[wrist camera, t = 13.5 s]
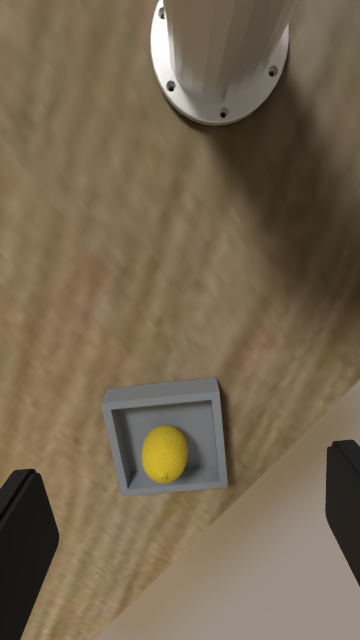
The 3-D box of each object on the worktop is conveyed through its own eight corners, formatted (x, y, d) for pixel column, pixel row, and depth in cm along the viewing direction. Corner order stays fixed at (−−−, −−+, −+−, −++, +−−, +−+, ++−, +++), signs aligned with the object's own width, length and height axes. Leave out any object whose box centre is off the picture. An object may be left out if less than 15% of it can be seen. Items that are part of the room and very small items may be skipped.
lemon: (196, 432, 39) (198, 480, 31) (165, 454, 40) (161, 506, 33) (168, 404, 38) (163, 448, 30) (137, 428, 39) (125, 476, 31)
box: (108, 388, 38) (100, 403, 35) (216, 377, 37) (219, 391, 34) (126, 475, 42) (121, 496, 39) (224, 466, 41) (228, 487, 38)
